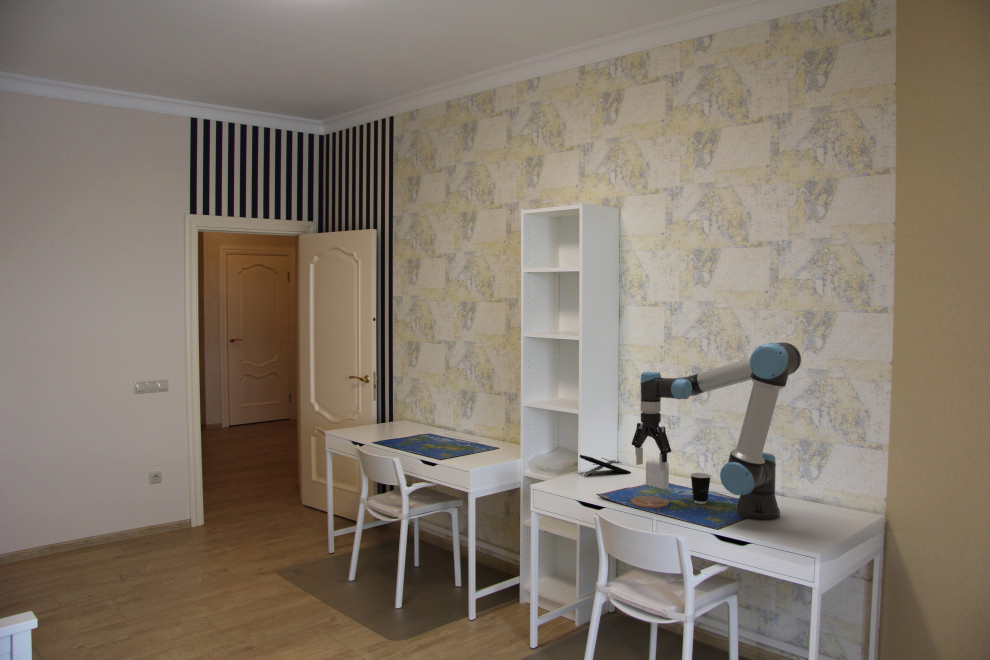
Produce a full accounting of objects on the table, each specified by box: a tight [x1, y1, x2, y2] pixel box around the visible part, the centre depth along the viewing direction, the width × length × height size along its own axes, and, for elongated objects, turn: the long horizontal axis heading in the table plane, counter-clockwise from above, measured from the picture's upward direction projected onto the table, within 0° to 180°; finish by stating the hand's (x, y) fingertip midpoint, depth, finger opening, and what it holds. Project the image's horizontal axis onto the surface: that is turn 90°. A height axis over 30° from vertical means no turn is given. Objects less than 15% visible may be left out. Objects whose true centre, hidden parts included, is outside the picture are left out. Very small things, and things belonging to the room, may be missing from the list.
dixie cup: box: [690, 472, 712, 505], centre depth 281 cm, size 8×8×11 cm
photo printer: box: [645, 457, 670, 490], centre depth 305 cm, size 10×4×12 cm, turn 39°
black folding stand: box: [579, 454, 632, 477], centre depth 329 cm, size 22×10×10 cm, turn 112°
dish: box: [630, 495, 670, 509], centre depth 280 cm, size 14×14×1 cm
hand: (650, 467), depth 280 cm, fingers open, 13 cm apart
